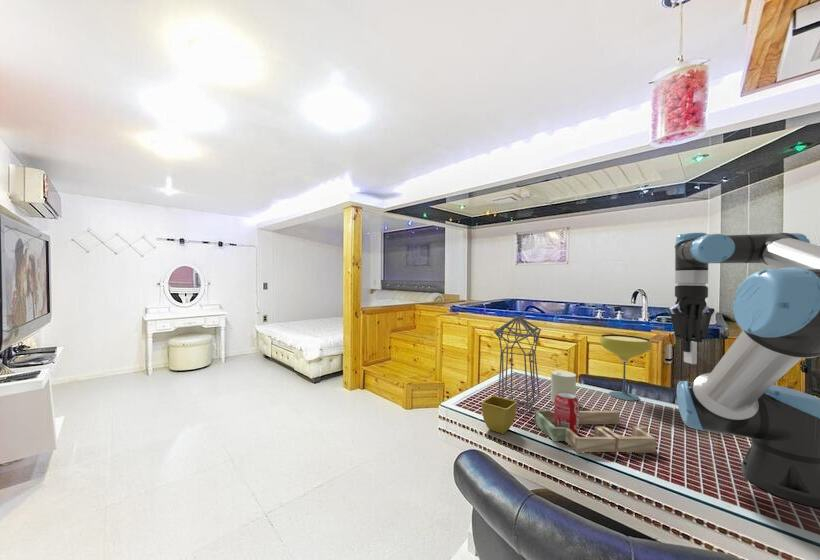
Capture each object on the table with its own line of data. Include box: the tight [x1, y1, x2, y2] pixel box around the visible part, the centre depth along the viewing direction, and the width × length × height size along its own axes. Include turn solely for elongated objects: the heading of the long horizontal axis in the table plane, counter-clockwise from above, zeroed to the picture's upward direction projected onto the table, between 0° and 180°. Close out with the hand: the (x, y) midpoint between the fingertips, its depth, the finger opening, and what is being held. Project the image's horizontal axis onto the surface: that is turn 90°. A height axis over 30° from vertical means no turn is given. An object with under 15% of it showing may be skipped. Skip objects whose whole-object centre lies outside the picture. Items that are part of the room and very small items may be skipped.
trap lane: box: [533, 409, 657, 454], centre depth 99 cm, size 19×29×4 cm, turn 93°
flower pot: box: [481, 395, 518, 434], centre depth 102 cm, size 9×9×9 cm
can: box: [550, 369, 577, 404], centre depth 127 cm, size 9×9×12 cm
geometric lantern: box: [493, 316, 542, 414], centre depth 121 cm, size 16×16×35 cm
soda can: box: [553, 391, 580, 435], centre depth 101 cm, size 7×7×12 cm
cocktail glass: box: [599, 333, 652, 402], centre depth 134 cm, size 18×18×25 cm
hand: (690, 362), depth 95 cm, fingers closed
